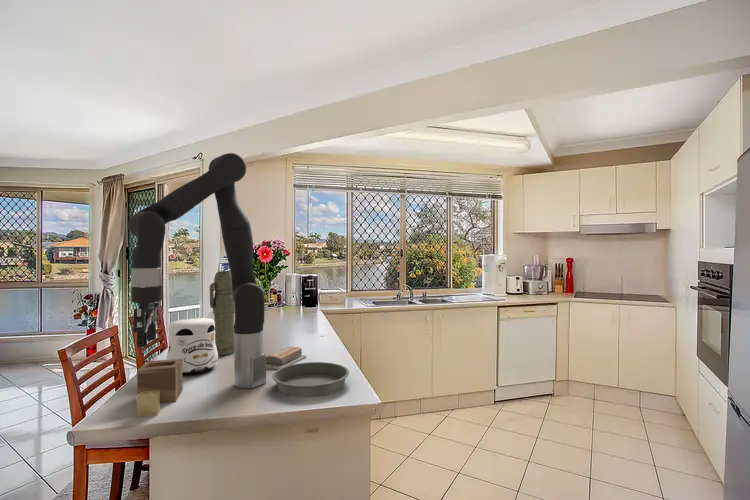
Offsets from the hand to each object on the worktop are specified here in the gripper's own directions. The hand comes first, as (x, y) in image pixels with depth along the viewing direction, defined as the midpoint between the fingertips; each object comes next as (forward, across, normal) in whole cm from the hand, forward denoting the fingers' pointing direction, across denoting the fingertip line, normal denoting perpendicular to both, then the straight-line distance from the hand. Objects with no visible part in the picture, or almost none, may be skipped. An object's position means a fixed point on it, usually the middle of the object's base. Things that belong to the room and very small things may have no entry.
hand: (146, 343), depth 112 cm
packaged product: (+19, -40, +38) cm, 58 cm away
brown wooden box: (+19, -11, +1) cm, 22 cm away
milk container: (+19, -38, +5) cm, 43 cm away
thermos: (+19, -61, +14) cm, 65 cm away
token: (+19, +2, +1) cm, 19 cm away
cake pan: (+19, -9, +46) cm, 50 cm away
